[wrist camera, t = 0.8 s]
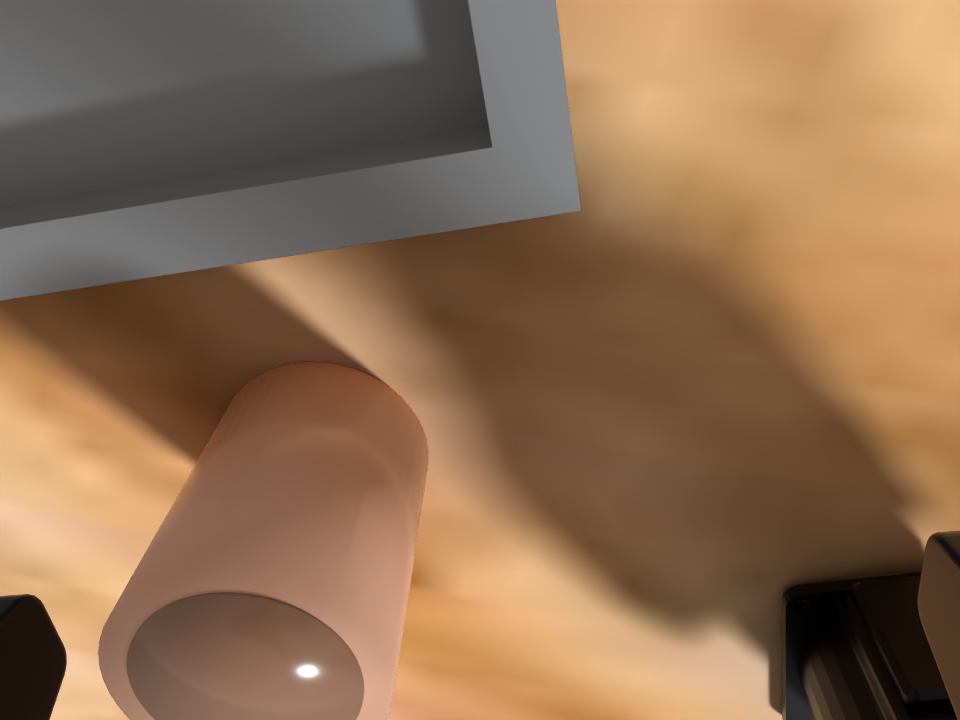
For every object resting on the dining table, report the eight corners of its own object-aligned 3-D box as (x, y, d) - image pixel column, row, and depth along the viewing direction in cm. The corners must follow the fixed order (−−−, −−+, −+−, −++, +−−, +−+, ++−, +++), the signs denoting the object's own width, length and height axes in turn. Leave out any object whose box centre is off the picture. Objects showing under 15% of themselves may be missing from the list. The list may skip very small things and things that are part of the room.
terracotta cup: (446, 522, 25) (420, 766, 18) (256, 543, 26) (158, 787, 19) (403, 347, 22) (352, 555, 15) (191, 377, 23) (47, 590, 16)
